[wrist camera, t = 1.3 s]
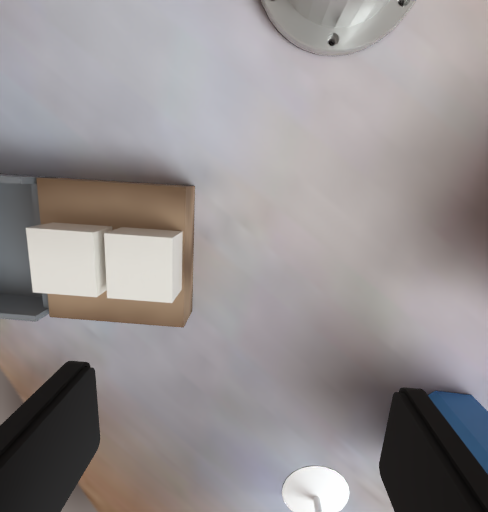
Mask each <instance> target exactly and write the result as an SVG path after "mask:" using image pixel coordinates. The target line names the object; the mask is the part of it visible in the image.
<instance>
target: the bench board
mask: <svg viewBox="0 0 488 512" xmlns="http://www.w3.org/2000/svg"><path fill="white" fill-rule="evenodd" d="M36 180H37V190H38V201H39V211H40V221H41V225H42V224H47V223H52V222H55V223H69V224H84V225H98V226H112V230H115V229H118V228H121V227H128V228H142V229H157V230H171V231H183V241H182V290H181V291H180V293H179V294H178V296H177V297H176V298H175V300H174V301H173V303H164V302H151V301H138V300H125V299H112V298H107V290H106V291H105V292H103V293H102V294H101V295H99V296H98V297H86V296H73V295H60V294H48V304H49V315H50V317H58V318H70V319H83V320H96V321H108V322H121V323H134V324H146V325H159V326H172V327H184V326H185V324H186V322H187V320H188V318H189V316H190V314H191V312H192V292H193V246H194V201H195V186H181V185H166V184H150V183H134V182H119V181H103V180H87V179H71V178H36Z"/></svg>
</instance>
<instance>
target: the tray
mask: <svg viewBox="0 0 488 512" xmlns="http://www.w3.org/2000/svg"><path fill="white" fill-rule="evenodd" d="M36 178H56V177H40V176H24V175H8V174H0V319H13V320H25V321H38V320H39V319H41V318H43V317H44V316H46V315H47V314H49V304H48V294H47V293H33V290H32V281H31V272H30V263H29V253H28V244H27V235H26V228H27V227H32V226H37V225H41V221H40V211H39V201H38V190H37V180H36Z"/></svg>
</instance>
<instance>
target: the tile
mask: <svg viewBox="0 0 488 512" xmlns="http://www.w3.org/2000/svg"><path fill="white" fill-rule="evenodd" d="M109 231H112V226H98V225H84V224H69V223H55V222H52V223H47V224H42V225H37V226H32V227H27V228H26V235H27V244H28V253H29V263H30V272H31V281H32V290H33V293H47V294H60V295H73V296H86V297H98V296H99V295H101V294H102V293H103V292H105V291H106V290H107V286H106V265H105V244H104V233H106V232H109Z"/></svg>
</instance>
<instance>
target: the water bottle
mask: <svg viewBox="0 0 488 512" xmlns="http://www.w3.org/2000/svg"><path fill="white" fill-rule="evenodd" d="M428 396H429V398H430V399H431V400H432V402H433V403H434V404H435V406H436V407H437V408H438V409H439V411H440V412H441V413H442V415H443V416H444V417H445V419H446V420H447V421H448V423H449V424H450V425H451V427H452V428H453V429H454V431H455V432H456V433H457V435H458V436H459V437H460V438H461V440H462V441H463V442H464V444H465V445H466V446H467V448H468V449H469V450H470V452H471V453H472V454H473V456H474V457H475V458H476V460H477V461H478V462H479V464H480V465H481V466H482V467H483V469H484V470H485V471H486V473H487V474H488V411H487V410H486V409H485V408H484V407H483V406H482V405H481V404H480V403H479V402H478V401H477V400H476V399H475V398H474V397H473V396H472V395H467V394H459V393H451V392H442V391H434V392H432V393H431V394H429V395H428Z"/></svg>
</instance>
